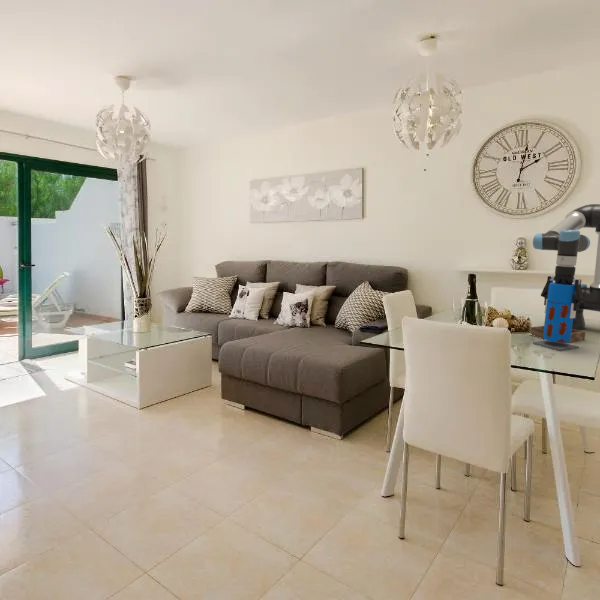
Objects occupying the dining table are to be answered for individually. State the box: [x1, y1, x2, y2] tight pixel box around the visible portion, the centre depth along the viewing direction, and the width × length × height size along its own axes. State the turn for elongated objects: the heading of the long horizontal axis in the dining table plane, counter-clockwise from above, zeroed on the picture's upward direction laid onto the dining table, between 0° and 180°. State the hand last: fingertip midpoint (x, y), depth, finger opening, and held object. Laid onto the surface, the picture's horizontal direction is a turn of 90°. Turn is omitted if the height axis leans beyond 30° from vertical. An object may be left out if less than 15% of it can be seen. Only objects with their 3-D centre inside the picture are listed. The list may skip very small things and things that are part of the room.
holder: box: [529, 325, 586, 344], centre depth 218 cm, size 16×16×4 cm
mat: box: [532, 339, 580, 352], centre depth 202 cm, size 13×13×1 cm
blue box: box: [542, 281, 576, 343], centre depth 200 cm, size 11×11×25 cm
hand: (559, 315), depth 200 cm, fingers closed on blue box, 11 cm apart
